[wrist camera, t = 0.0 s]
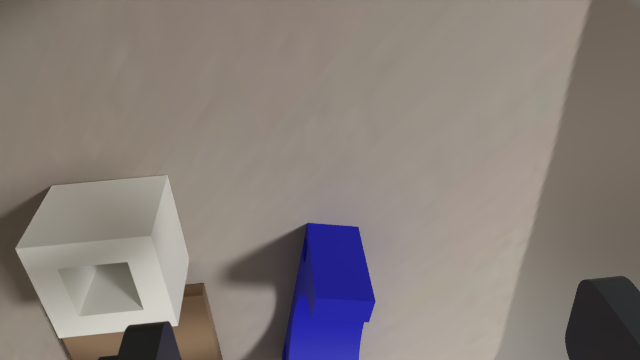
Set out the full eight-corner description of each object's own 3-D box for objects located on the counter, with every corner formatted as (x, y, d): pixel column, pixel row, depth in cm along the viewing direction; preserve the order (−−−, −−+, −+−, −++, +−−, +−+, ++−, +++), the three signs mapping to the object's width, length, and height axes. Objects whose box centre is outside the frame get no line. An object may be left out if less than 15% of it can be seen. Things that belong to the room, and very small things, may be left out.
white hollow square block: (51, 185, 28) (15, 248, 24) (167, 174, 28) (150, 235, 24) (86, 269, 31) (59, 338, 27) (189, 259, 32) (178, 325, 28)
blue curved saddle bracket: (344, 358, 38) (356, 439, 33) (281, 356, 38) (284, 438, 33) (382, 227, 32) (404, 302, 27) (307, 221, 31) (315, 298, 26)
